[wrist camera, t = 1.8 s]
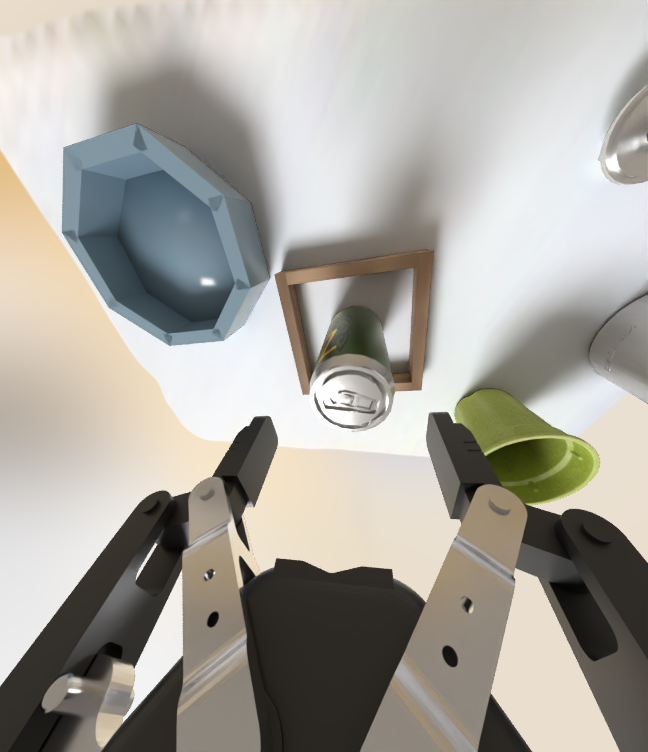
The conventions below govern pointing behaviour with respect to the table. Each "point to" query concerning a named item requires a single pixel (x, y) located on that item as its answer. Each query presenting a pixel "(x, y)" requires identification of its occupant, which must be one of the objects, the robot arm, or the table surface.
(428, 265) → the walnut frame
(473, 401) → the plant pot
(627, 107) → the screw
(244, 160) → the table surface
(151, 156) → the slate bowl
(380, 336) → the beer can
